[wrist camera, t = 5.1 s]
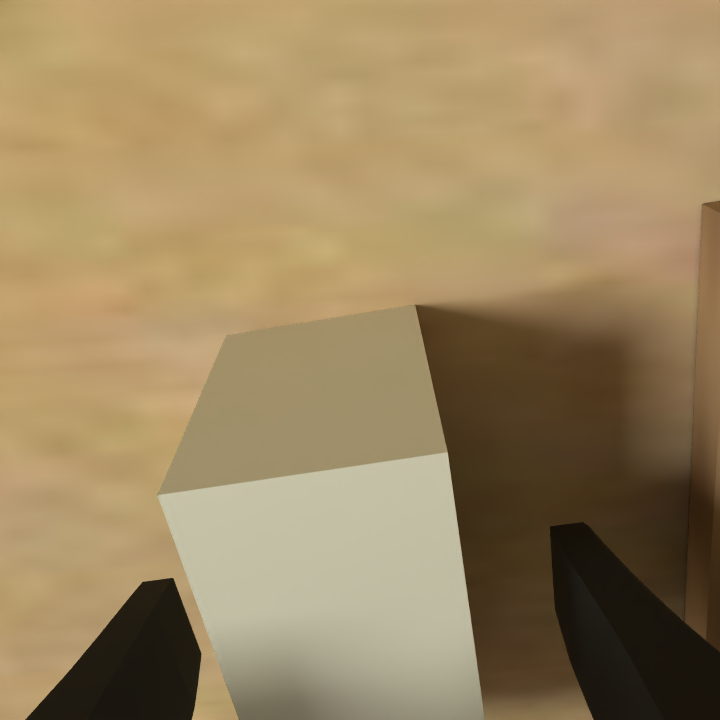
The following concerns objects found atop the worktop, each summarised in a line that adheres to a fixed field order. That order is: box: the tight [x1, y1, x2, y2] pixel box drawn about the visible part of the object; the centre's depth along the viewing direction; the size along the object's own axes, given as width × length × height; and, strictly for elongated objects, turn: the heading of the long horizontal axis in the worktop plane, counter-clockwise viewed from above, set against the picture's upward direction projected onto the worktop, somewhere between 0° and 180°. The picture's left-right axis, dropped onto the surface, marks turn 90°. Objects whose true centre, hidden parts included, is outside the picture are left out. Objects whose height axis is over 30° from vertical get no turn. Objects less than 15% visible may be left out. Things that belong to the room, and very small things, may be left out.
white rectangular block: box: [158, 305, 485, 720], centre depth 13 cm, size 10×4×5 cm, turn 10°
